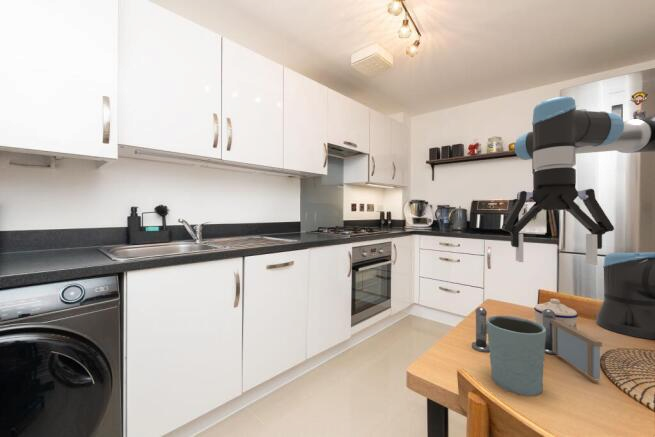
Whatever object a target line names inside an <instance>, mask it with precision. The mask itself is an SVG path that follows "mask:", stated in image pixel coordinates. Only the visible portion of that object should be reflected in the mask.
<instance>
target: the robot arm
mask: <svg viewBox="0 0 655 437" xmlns="http://www.w3.org/2000/svg"><path fill="white" fill-rule="evenodd" d="M531 125H532V131H529V132H527V133H524V134H522V135H521V136H519V137H518V138H517V139H516V140H515V142H514V146H513V147H514V152H515V153H514V154H516V156H517V158H519V159H521V160H524V161H529V160H533V161H532V166H533V167H532V168H533V170H534V172H533V174H532V177H533V178H532V181H533V184H532V186H533V187H532V188H533V190H532V192H531V191H526V190H522V191H519V192H517V194H516V201H515V203H514V204H513V206H512V208H511V210H510V212H509V214H508V215H507V217H506V218H505V220H504V222H503V224H502V226H501V230H503V231H506V232H509V233H510V245H511V247H513V248H515V261H516V262H518V263H524V234H523V233H520V232H521V231H522V230H523V229H524V228H526V226H527V225H528V224H529V223H530V222H531V221H532V220H533V219H534V218H535V217H536V216H537V215H538V214H539V213H540V212H541V211H542V210H543V211H552V210H553V211H563V210H565V211H566V212H568V213H570V214H571V215H572V217H574V219H575V220H577V221H578V222H579V223H580V224H581V225H582V226H583V227H584V228H585V229H587V231H588V232H590V233H585V263H586V264H589V265H592V266H594V265H595V266H598V250H602V248H603V235H605V234H606V233H608V232H613V231H614V230H615V227H614V225H613V224H612V222H611V221H610V219H609V218H608V216H607V215H606V213H605V211H604V210H603V208H602V207H601V205H600V203H599V202H598V201H597V199H596V194H595V190H594V188H587V189H583V190H577V188H576V185H577V184H576V183H577V174H576V172H577V170H576V169H575V166H576V164H577V162H576V161H577V158H576V157H577V154H578V155H579V154H588V153H590V154H591V153H603V152H611V151H612V152H613V151H615V152H616V151H617V152H619V153H623V154H632V153H655V114H651V115H648V116H645V117H642V118H636V119H629V120H626V121H624V119H623V118H622V116H620V114H617V113H612V112H607V111H602V110H601V111H594V110H593V111H589V110H588V111H587V110H580V109H577V105H576V100H575V99H574V98H573V97H571V96H558V97H553V98H549V99H545V100H543V101H541V102H539V103H538V104H536V105H535V107H534V109H533V114H532V123H531ZM530 198H531V199H532V200H533V201H534V204H533V205H532V206H531V207H530V208H529V209H528V211H526V213H525V214H524V215H523V216H522V217H520V219H519V220H518V221H517V222H516V220H517V218H518V217H519V215H520V213H521V211H522V209H523V208H524V206H525V203H526V202H527V201H529V200H530ZM577 198H579V199H580V200H582V202H583V204H584V206H585V207H586V209H587V210H588V212H589V214H590V215H591V217H592V218H591V217H590V216H589V215H587V214H586V212H585V211H583V209H582V208H581V207H580V205H579V204H578V203H576V201H575V200H576V199H577ZM515 222H516V223H515ZM514 223H515V224H514ZM602 267H603V292H604V293H603V301H602V304H601V306H600V309H599V310H598V313H597V314H596V325H599V326H600V327H602V328H604V329H606V330H609V331H611V332H615V333H619V334H622V335H626V336H632V337H635V338H642V339H648V340H649V339H650V340H651V339H652V340H655V252H612V253H611V252H610V253H608V254H606V255H605V256H604V261H603V266H602Z"/></svg>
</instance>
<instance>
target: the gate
mask: <svg viewBox="0 0 655 437" xmlns="http://www.w3.org/2000/svg"><path fill="white" fill-rule="evenodd" d="M551 324H553V352H554V353H556V354H558V355H557V356H559V357H561V358H562V359H564V360H565V361H566V362H568V363H570V364H571V365H573V366H575V367H576V368H577V369H579V370H580V371H582V372H583V373H584V374H586V375H587V376H589V378H593V379H594V380H601V352H600V351H601V348H602V347H603V346H602V345H603V344H602V343H603V342H602V341H601V340H600V339H599V340H598V339H596V338H595V337H593V336H591V335H589V334H586V333H585V332H582V331H580V330H579V329H578V328H577V329H575V328H573V327H571V326H569V325H567V324H565V323H563V322H561V321H559V320H552V319H551Z"/></svg>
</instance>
